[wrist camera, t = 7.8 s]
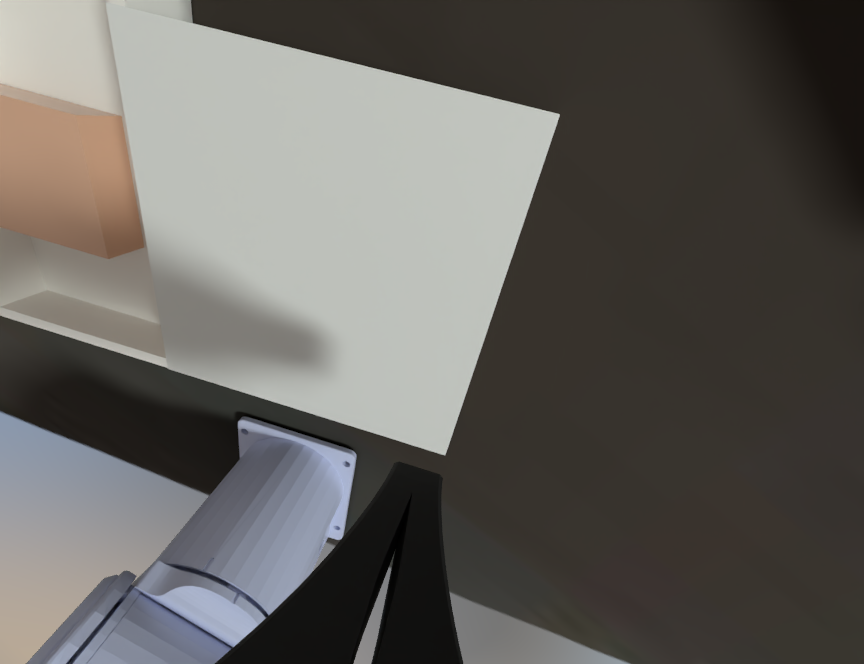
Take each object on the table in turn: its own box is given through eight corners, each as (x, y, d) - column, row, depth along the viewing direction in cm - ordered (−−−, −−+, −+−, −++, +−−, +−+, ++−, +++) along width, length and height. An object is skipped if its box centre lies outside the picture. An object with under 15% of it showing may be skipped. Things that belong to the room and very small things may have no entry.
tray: (219, 343, 23) (180, 371, 20) (51, 292, 23) (-7, 313, 21) (190, -5, 15) (119, -33, 12) (-64, -67, 15) (-183, -105, 13)
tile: (-6, 225, 18) (39, 216, 20) (108, 259, 18) (144, 247, 20) (-60, 78, 15) (-1, 83, 17) (75, 115, 15) (121, 115, 17)
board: (457, 401, 21) (445, 455, 18) (222, 330, 22) (168, 368, 19) (549, 116, 14) (559, 114, 11) (200, 29, 15) (105, 1, 12)
